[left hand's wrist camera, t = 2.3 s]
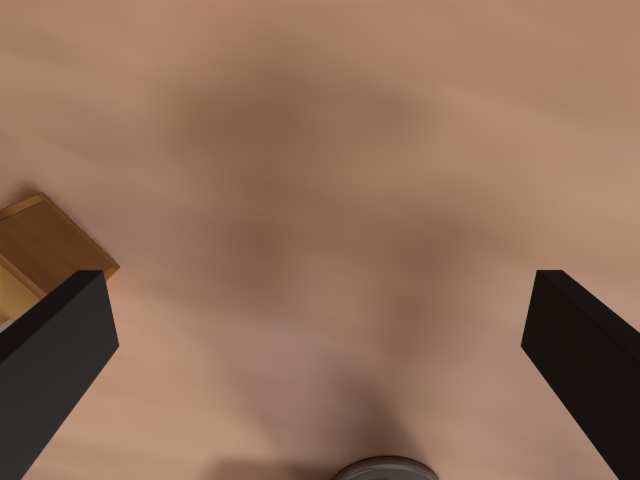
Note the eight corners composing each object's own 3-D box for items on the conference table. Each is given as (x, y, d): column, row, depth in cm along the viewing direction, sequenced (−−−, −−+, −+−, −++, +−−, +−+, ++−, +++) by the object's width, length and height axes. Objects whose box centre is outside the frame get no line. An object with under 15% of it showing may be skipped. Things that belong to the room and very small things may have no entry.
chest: (42, 192, 38) (-39, 227, 30) (120, 267, 41) (67, 319, 33) (-46, 272, 42) (-143, 325, 33) (33, 337, 44) (-38, 402, 36)
